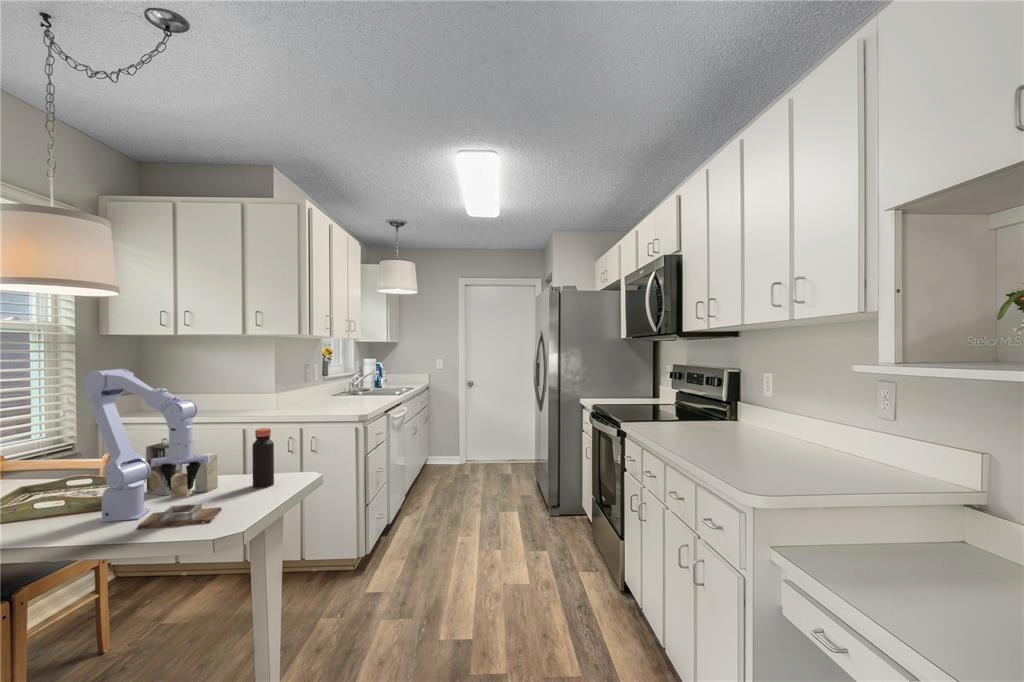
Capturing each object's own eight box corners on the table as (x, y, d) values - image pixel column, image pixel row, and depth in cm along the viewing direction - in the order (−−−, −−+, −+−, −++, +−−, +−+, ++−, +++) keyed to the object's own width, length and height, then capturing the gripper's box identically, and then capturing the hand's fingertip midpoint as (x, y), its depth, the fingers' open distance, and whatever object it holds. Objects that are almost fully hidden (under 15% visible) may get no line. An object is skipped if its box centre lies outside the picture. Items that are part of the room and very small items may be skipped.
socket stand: (137, 529, 137) (137, 518, 137) (153, 516, 147) (153, 506, 147) (211, 522, 142) (210, 512, 142) (221, 510, 152) (221, 500, 152)
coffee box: (183, 490, 171) (183, 444, 171) (165, 496, 165) (165, 448, 165) (163, 488, 174) (162, 442, 174) (145, 493, 168) (144, 446, 168)
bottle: (253, 484, 178) (252, 428, 178) (274, 481, 181) (273, 427, 181) (252, 489, 172) (251, 432, 172) (273, 486, 175) (273, 430, 175)
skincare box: (207, 492, 169) (206, 457, 169) (194, 492, 169) (193, 457, 169) (218, 486, 175) (218, 452, 175) (206, 486, 175) (205, 452, 175)
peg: (171, 498, 142) (170, 477, 142) (176, 493, 146) (176, 473, 146) (187, 497, 143) (186, 476, 143) (191, 492, 147) (191, 472, 147)
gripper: (145, 446, 138) (146, 495, 139) (204, 443, 142) (205, 491, 143) (156, 441, 145) (157, 487, 145) (212, 438, 149) (212, 483, 149)
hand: (181, 488), depth 144 cm, fingers closed on peg, 4 cm apart
